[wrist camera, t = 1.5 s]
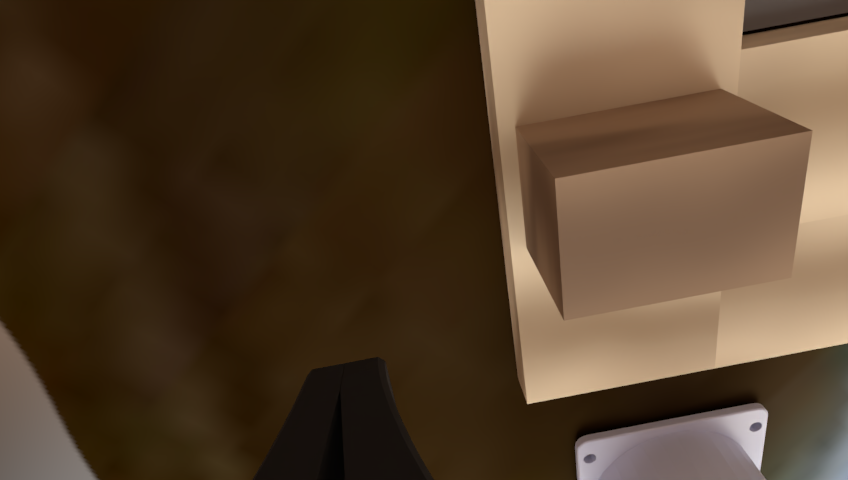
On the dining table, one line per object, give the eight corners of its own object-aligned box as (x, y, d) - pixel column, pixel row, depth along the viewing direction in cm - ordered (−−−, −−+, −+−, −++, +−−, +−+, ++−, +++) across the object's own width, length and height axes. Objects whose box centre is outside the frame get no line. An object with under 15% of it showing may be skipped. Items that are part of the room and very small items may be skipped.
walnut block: (712, 212, 19) (791, 277, 16) (526, 247, 19) (564, 321, 16) (721, 88, 18) (812, 130, 14) (515, 126, 17) (554, 178, 14)
